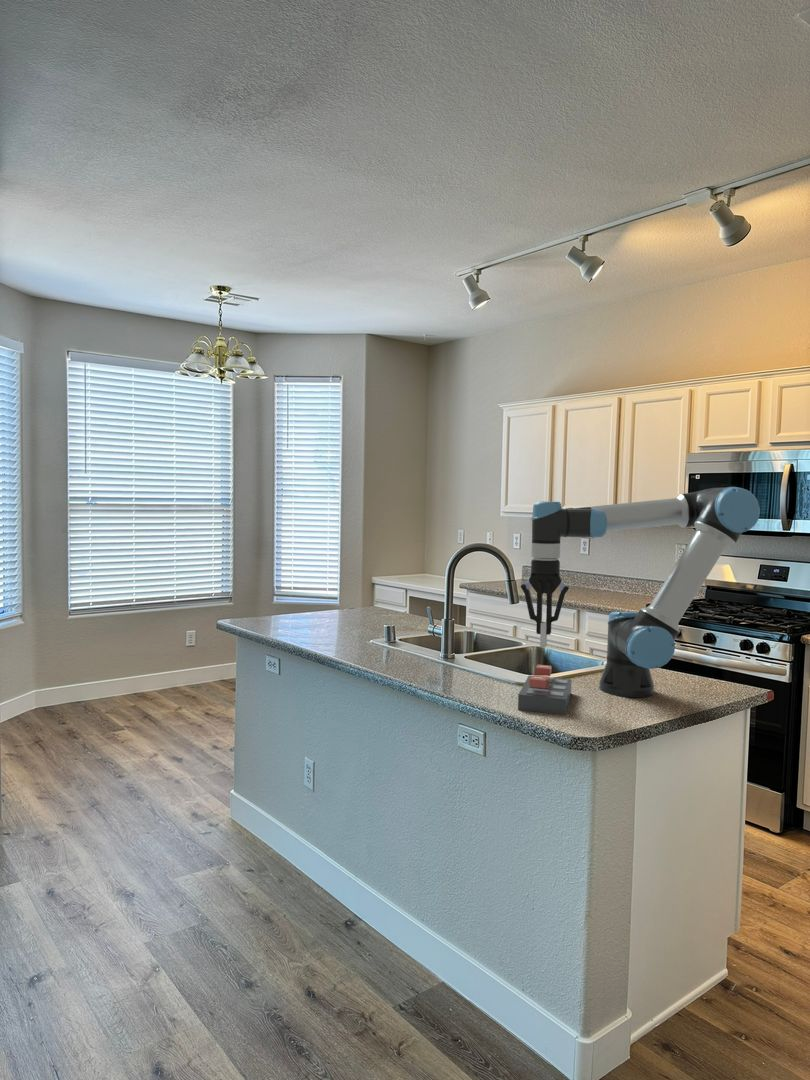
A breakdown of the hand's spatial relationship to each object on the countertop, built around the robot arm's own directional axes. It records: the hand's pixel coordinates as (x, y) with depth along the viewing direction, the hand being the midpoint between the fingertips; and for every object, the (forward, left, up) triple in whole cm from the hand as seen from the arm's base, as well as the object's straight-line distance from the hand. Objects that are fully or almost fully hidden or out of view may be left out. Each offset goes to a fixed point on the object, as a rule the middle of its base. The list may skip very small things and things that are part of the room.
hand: (543, 646), depth 201 cm
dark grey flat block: (-1, -1, -15) cm, 15 cm away
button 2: (0, 0, -11) cm, 11 cm away
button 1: (0, -7, -9) cm, 11 cm away
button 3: (0, +7, -9) cm, 12 cm away
